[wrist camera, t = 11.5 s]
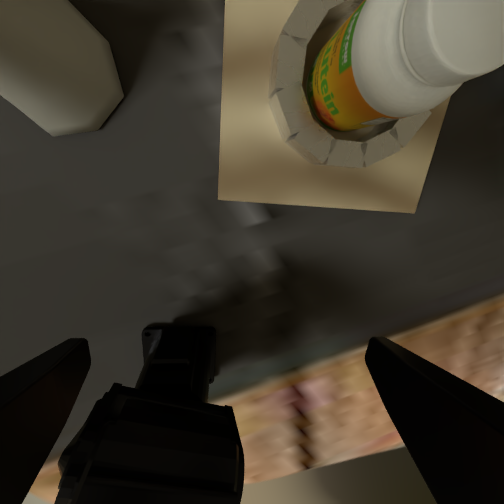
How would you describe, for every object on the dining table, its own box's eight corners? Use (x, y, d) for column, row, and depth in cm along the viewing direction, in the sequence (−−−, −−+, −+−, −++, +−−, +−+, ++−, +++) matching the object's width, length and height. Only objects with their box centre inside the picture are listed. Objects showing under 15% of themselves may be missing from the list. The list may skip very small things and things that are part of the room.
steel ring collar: (391, 171, 19) (415, 173, 16) (262, 159, 17) (268, 159, 15) (434, 4, 15) (472, -25, 13) (279, -26, 14) (290, -65, 12)
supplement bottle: (297, 50, 15) (404, -115, 6) (379, 29, 15) (603, -165, 6) (310, 142, 17) (407, 118, 8) (383, 122, 17) (560, 77, 8)
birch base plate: (406, 211, 21) (414, 213, 20) (218, 197, 19) (217, 199, 18) (479, -38, 16) (495, -51, 15) (228, -95, 13) (229, -114, 13)
